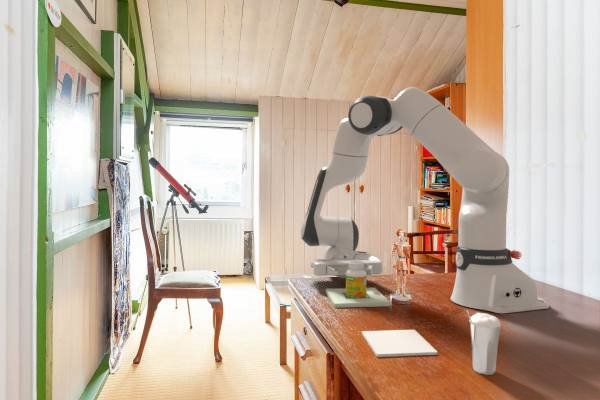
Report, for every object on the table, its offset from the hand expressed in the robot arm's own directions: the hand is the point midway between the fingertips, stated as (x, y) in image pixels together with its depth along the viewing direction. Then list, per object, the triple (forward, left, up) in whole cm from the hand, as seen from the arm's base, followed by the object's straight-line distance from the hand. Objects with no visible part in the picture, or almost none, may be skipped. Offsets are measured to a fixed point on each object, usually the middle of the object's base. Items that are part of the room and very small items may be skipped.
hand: (352, 272), depth 111 cm
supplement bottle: (0, +5, -6) cm, 8 cm away
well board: (0, +5, -6) cm, 8 cm away
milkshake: (-11, +47, -6) cm, 48 cm away
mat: (-1, +35, -6) cm, 35 cm away
